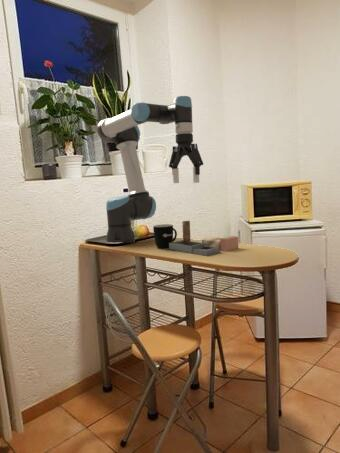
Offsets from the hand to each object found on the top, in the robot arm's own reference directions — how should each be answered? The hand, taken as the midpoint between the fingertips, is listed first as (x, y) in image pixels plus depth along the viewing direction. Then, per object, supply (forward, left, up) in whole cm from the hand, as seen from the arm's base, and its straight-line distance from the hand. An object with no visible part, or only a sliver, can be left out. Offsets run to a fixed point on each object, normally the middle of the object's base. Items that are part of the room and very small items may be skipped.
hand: (185, 183), depth 159 cm
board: (+12, +5, -29) cm, 32 cm away
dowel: (+5, -6, -28) cm, 29 cm away
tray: (+5, -6, -29) cm, 30 cm away
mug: (-8, -6, -29) cm, 31 cm away
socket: (+16, -6, -29) cm, 33 cm away
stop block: (+19, +5, -29) cm, 35 cm away
